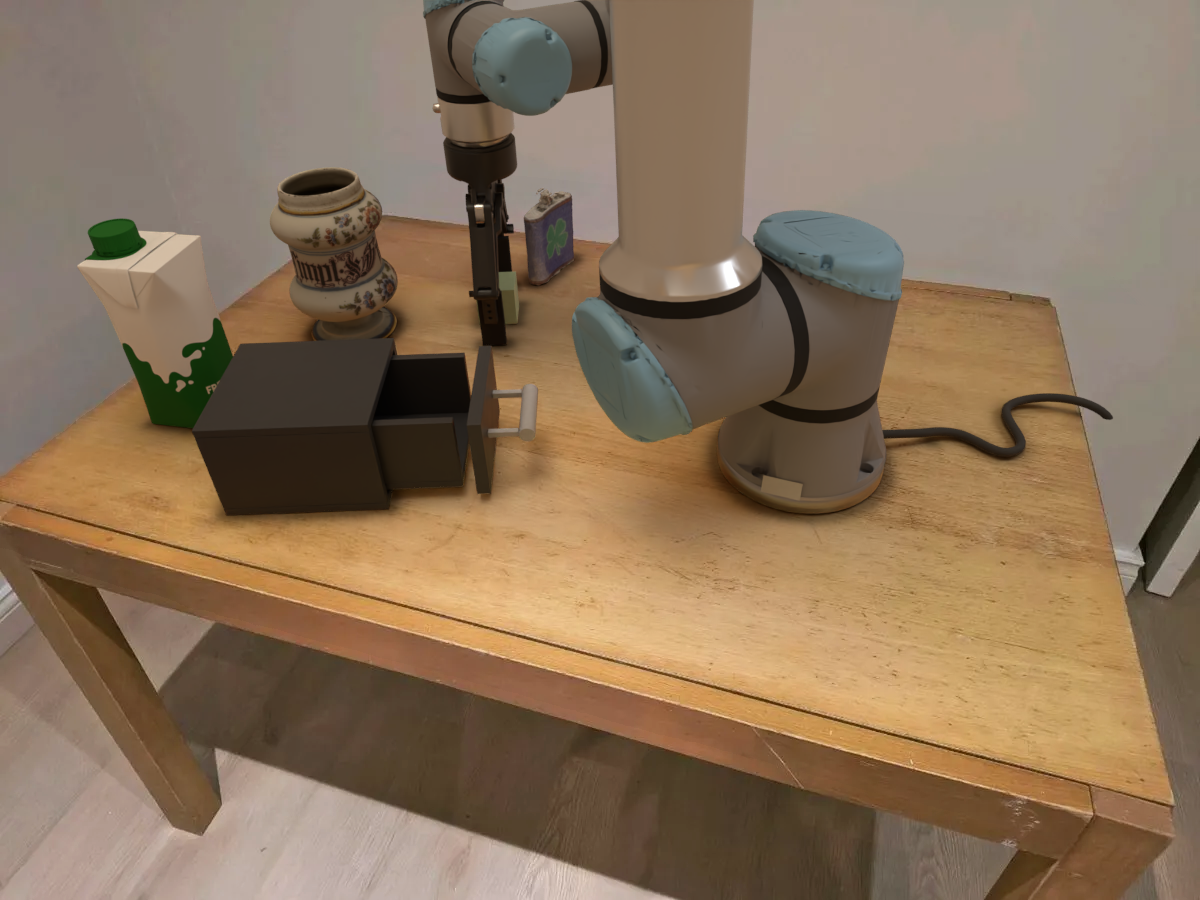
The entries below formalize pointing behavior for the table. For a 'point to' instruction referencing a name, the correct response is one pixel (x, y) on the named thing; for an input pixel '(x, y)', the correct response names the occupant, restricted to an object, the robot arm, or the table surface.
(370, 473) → the cabinet
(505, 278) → the block
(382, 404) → the drawer
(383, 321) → the apothecary jar
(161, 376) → the milk carton
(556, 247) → the flask
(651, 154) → the robot arm
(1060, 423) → the table surface
